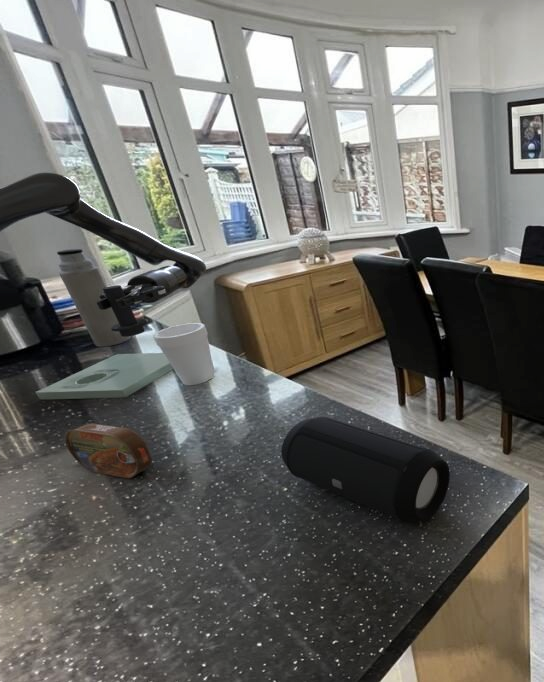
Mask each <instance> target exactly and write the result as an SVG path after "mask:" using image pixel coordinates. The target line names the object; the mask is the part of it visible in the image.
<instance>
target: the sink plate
mask: <svg viewBox="0 0 544 682" xmlns="http://www.w3.org/2000/svg"><path fill="white" fill-rule="evenodd" d="M171 371H174V369H173V367H172V365H171V364H170V362H169V361H168V359H167V358H166V356H165V355H164V353H163V352H152V353H151V352H148V353H147V352H146V353H145V352H144V353H142V352H140V353H116V354H114V355H112V356H110V357H108V358H106V359H104V360H101V361H99V362H97V363H94V364H93V365H91V366H88V367H86V368H84V369H82V370H80V371H78V372H76V373H74V374H71V375H69V376H66V377H65V378H63V379H61V380H59V381H57V382H54V383H52V384H49V385H48V386H45V387H43V388H42V389H40V390H37V391H35V394H36V396H37V397H38V399H39V400H40V401H42V400H78V399H84V400H85V399H118V398H121V399H122V398H128V397H129V396H131V395H132V394H134V393H136V392H137V391H139V390H141V389H143V388H144V387H147V386H148V385H150V384H151V383H153V382H154V381H156V380H158V379H159V378H161V377H163V376H165V375H166V374H168V373H170V372H171Z"/></svg>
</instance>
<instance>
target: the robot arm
mask: <svg viewBox="0 0 544 682" xmlns="http://www.w3.org/2000/svg"><path fill="white" fill-rule="evenodd" d="M44 213H45V214H48V215H50V216H53V217H54V218H57V219H60V220H62V221H64V222H67V223H69V224H72V225H74V226H75V227H76V226H77V227H79V228H81V229H82V230H85V231H86V232H87V231H88V233H92V234H94V235H95V236H97V237H99V238H102V239H103V240H105V241H107V242H109V243H111V244H113V245H115V246H116V247H118V248H120V249H122V250H124V251H125V252H127V253H129V254H131V255H132V256H134V257H135V258H138V259H140V260H141V261H143V262H145V263H146V264H149V265H151V266H159V265H161V264H162V263H164V262H165V261H170V262H174V263H173V264H172V265H165V266H161V267H159V268H156V269H151V270H148V271H146V272H142V273H140V274H137V275H134V276H132V277H131V278H130V279H129V280H128V282H127V284H126V285H125V286H123V287H122V290H123V292H124V294H125V296H123V297H121V298H119V299H116V303H117V305H118V307H119V308H125V307H127V306H129V305H130V306H131V305H137V304H140V303H141V304H142V303H143V304H154V303H156V302H158V301H160V300H162V299H164V298H167V297H169V296H171V295H172V294H173V293H175V292H176V291H178V290H187V289H188V288H190V287H192V286H193V285H194V284H195V283H196V282H197V281H198V280H199V279H200V278H201V276H203V274H204V273H205V272H206V271H207V265H206V264H205V262H204V261H203V260H202V259H201V258H200V257H198V256H196V255H193V254H191V253H188V252H185V251H183V250H182V251H181V250H179V249H176V248H174V247H171V246H168V245H167V244H164V243H162V242H161V241H159V240H158V239H156V238H154V237H152V236H150V235H149V234H147V233H146V232H144V231H141V230H140V229H138V228H136V227H133V226H131V225H129V224H126V223H124V222H122V221H119V220H117V219H114V218H112V217H110V216H107V215H106V214H104V213H102V212H101V211H99V210H97V209H96V208H94V207H92V206H91V205H90V204H88V203H87V202H86V201H84V200H83V199H82V198H81V191H80V189H79V186H78V185H77V183H75V182H74V181H73V180H72V179H70V178H69V177H67V176H65V175H63V174H59V173H56V172H55V173H54V172H46V171H45V172H37V173H33V174H30V175H28V176H26V177H24V178H22V179H19V180H17V181H13V182H12V183H9V184H7V185H4V186H2V187H0V233H1V232H3V231H5V230H6V229H8V228H9V227H11V226H12V225H14V224H16V223H18V222H20V221H21V220H25V219H28V218H30V217H34V216H37V215H41V214H44ZM99 297H100V299H101V300H99V301H97V305H98V307H99V308H100V309H101V310H105V309H108V308H110V307H111V306H110V303H109V301H108V299H107V297H106V295H105V293H104V292H103V293H102V294H101V295H100V296H99Z"/></svg>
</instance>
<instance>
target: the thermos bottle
mask: <svg viewBox="0 0 544 682" xmlns="http://www.w3.org/2000/svg"><path fill="white" fill-rule="evenodd" d="M83 252H84V250H83V249H81V248H73V249H64V250H59V251H56V253H57V255H58V256H59V259H60V262H59V263H58V267H59V269H60V271H59V272H58V275H59V277H60V278H61V281H62V282H63V284H64V286H65V288H66V290H67V293H68V295H69V296H70V298H71V300H72V303H73V304H74V306H75V308H76V310H77V312H78V314H79V316H80V318H81V320H82V322H83V324H84V326H85V328H86V330H87V332H88V334H89V336H90V337H91V339H92V342H93V344H94V346H95V347H98V348H101V347H102V348H103V347H110V346H117V345H119V344H122V343H124V342H127V341H129V340H130V339H131V336H128V337H122V336H121V334H120V332H119V331H112V329H111V327H112V326H114V325H116V324H118V323H119V322H118V320H117V318H116V316H115V314H114V312H113V310H112V308H111V307H110V308H108V309H105V310H101V309H100V308H99V307H98V305H97V301H99V300H101V299H100V297H99V296H100V295H101V294H102V293H103V292H104V291H103V288H105V287H108V286H107V284H106V281H105V280H104V278H103V275H102V273H101V270H100V268H99V267H98V266H95V265H94V262H93V261H92V259H89V258H87V257H86V256H85V254H84V253H83Z"/></svg>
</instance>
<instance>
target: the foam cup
mask: <svg viewBox="0 0 544 682" xmlns="http://www.w3.org/2000/svg"><path fill="white" fill-rule="evenodd" d="M152 337H153V339H154V341H155V345H156V346H157V347H158V348H159V349H160V350H161V351H162V352H161V353H164V355H165V356H166V358H167V359H168V361H169V362H170V364H171V365H172V367H173V371H175V373H176V375H177V376H178V378H179V380H180V381H181V383H182V384H183V385H184V386H196V385H197V386H198V385H200V384H204V383H206V382H208V380H209V379H211V378H212V377H213V378H215V375H214V374H215V368H214V363H213V359H212V354H211V348H210V343H209V337H208V330H207V328H206V325H205V324H204V323H202V322H188V323H181V324H177V325H176V324H175V325H172V326H169V327H166V328H163V329H160V330H158V331H156V332H155V333H154V334H153V335H152ZM213 378H212V379H213ZM212 379H211V380H212ZM209 381H210V380H209Z"/></svg>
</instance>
